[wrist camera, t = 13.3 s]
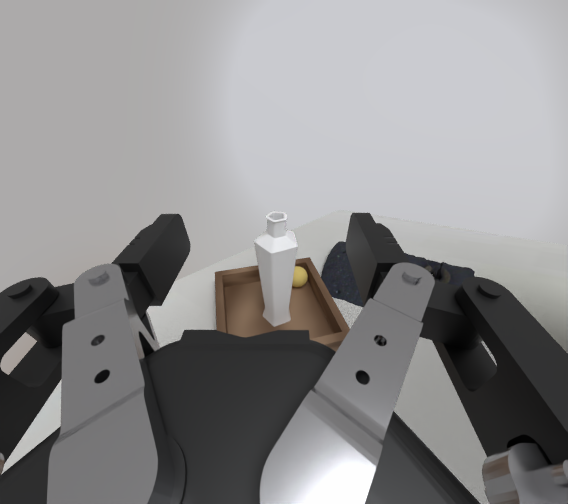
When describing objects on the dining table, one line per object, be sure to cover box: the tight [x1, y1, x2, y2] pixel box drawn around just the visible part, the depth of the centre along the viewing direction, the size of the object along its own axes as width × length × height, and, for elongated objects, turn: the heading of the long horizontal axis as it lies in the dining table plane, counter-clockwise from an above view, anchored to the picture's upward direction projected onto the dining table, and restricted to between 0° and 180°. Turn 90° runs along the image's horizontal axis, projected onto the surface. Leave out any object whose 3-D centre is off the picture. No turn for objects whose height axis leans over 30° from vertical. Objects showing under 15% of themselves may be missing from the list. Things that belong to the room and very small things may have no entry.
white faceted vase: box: [254, 211, 298, 327], centre depth 27 cm, size 5×4×15 cm
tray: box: [215, 258, 350, 351], centre depth 31 cm, size 15×15×3 cm
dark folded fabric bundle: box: [321, 242, 474, 307], centre depth 37 cm, size 15×22×5 cm
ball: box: [292, 266, 308, 287], centre depth 35 cm, size 3×3×3 cm
